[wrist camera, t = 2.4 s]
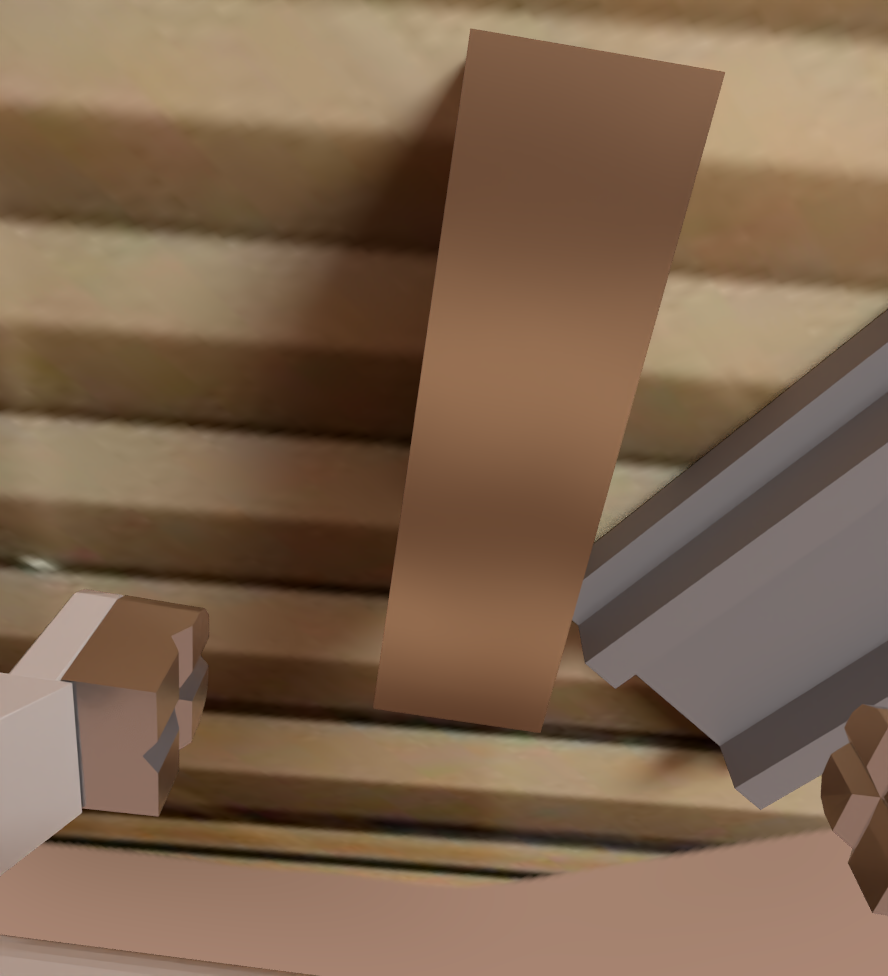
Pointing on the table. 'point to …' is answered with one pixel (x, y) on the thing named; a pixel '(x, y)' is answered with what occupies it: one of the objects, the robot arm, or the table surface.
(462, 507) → the picture frame
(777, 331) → the table surface
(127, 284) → the table surface
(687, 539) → the picture ledge
